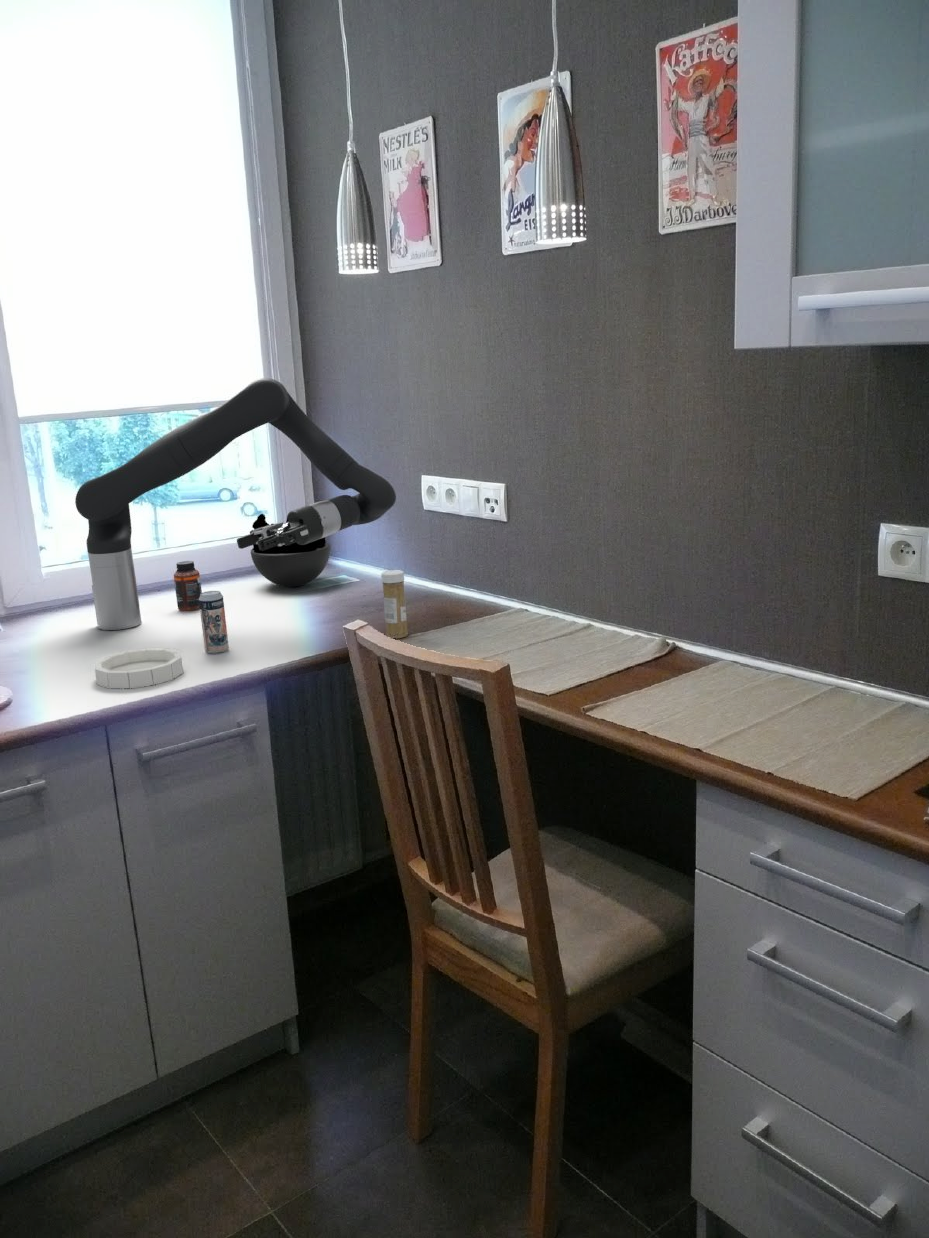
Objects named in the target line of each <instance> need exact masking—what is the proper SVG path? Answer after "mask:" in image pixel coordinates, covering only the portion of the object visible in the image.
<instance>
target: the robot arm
mask: <svg viewBox="0 0 929 1238" xmlns="http://www.w3.org/2000/svg"><path fill="white" fill-rule="evenodd" d="M266 424H270V425H271V426H273V427H274V428H276V429H277V430H278V431H280V432H282V433H283V434H284V436H286V437H288V439H290V440H291V441H292V442H293V444H295V445H296V447H298V448H299V449H300V451H301V452H302V453H303V454H304V455H305V457H306V458H307V459H308V460H309V461H310V463H311V464H312V465H313V466H314V467H315V468H316V470H318V471H319V472H320V473H321V474H322V475H324V477H325V478H326V479H327V480H328V481H330V482H331V483H332V484H333V485H334V486H335V487H336V488H338V489H339V490H341V491H347V490H350V489H352V490H354V491H356V492H357V494H355V495H353V496H352V495H349V494H348V495H347V494H343V495H339V496H338V495H337V496H335V497H332V498H328V499H325V500H322V501H321V500H320V501H317V502H314V503H310V504H308V505H305V506H301V507H300V508H296V509H293V510H291V511H290V510H289V512H288V514H287V516H286V520H285V522H283V521H280V522H276V523H271V524H269V525H267V526H264V527H261V528H258V529H255V530H254V529H251V530H250V531H249V534H246V535H244V536H240V537H238V538H237V539H236V543H237V546H238V549H241V550H242V549H243V550H244V549H245V548H247V547H248V548H249V547H250V546H252V547H253V545H254V544H258V546H259V550H261V551H264V550H267V549H269V548H272V547H275V546H277V545H278V546H282V545H285V546H286V545H287V546H288V545H290V544H293V543H295V542H296V543H297V544H300V545H305V544H308V543H310V542H313V541H316V540H318V539H321V538H324V537H325V538H326V537H329V536H331V535H333V534H335V533H337V532H340V531H342V530H345V529H348V528H349V527H352V526H361V525H365V524H369V523H372V522H374V521H377V520H379V519H380V518H382V516H384V515H385V514H386V513H387V512H388V511H389V510H390V509H391V508H392V507H393V506H394V505H395V503H396V500H397V495H396V492H395V489H394V486H393V485H392V484H390V482H389V481H388V480H386V479H385V478H384V477H382V476H381V475H379V474H378V473H375V472H374V471H372V470H370V469H369V468H367V467H365V466H363V465H361V464H360V463H358V461H357V460H355V459H354V458H353V457H352V456H351V455H350V454H349V453H348V452H347V451H346V450H345V449H343V447H341V446H340V445H339V444H338V443H337V442H336V441H334V440H333V438H331V437H330V436H329V435H328V434H327V433H326V432H324V431H323V430H322V429H321V428H319V427H320V426H318V425H317V424H315V422H314V421H312V419H311V418H310V417H309V416H308V415H307V414H306V413H305V412H304V411H303V410H302V409H301V407H300V406H299V405H298V404H297V403H296V401H295V399H294V398H293V397H292V396H291V394H290V393H289V392H288V390H287V389H286V386H284V384H282V383H281V382H280V381H278V380H276V379H274V378H270V377H269V378H267V377H266V378H265V377H264V378H257V379H255V380H253V381H252V382H250V383H249V384H248V385H246V386H245V387H244V388H242V390H241V391H239V392H238V393H236V394H235V395H234V396H233V397H231V398H230V399H228V400H227V401H226V402H224V403H223V404H221V405H220V406H218V407H216V408H215V409H213V410H211V411H208V412H206V413H204V414H201V415H199V416H197V417H195V418H193V419H191V420H189V421H187V422H185V423H184V424H183V423H182V424H181V425H179V426H178V427H175V428H174V429H173V430H171V431H169V432H167V433H166V434H164V435H163V436H161V437H160V438H159V439H157V440H156V441H153V442H152V443H151V444H149V445H148V446H146V447H145V448H144V449H143V450H141V451H140V452H139V453H137V454H136V455H135V456H134V457H132V458H131V459H129V460H127V462H125V463H124V464H122V465H121V466H118V467H117V468H115V469H113V470H110V471H109V472H107V473H104V474H103V475H100V476H97V477H95V478H92V479H89V480H87V481H85V482H84V483H83V484H81V486H80V487H79V488H78V490H77V492H76V494H75V495H76V496H75V499H74V500H75V502H74V504H75V508H76V510H77V512H78V514H79V515H81V517H83V518H84V519H86V520H87V523H88V536H87V538H86V549H87V556H88V562H89V568H90V569H89V570H90V576H91V583H92V585H91V590H92V596H93V597H92V598H93V601H94V602H93V603H94V611H95V618H96V624H97V626H98V629H100V630H104V631H119V630H125V629H130V628H134V627H137V626H139V625H141V624H142V617H141V607H140V599H139V592H138V585H137V579H136V571H135V564H134V558H133V550H132V549H133V548H132V541H131V540H132V531H133V530H132V521H131V520H132V519H131V512H130V511H131V510H130V503H132V502H133V501H135V500H136V499H137V498H139V497H141V496H142V495H144V494H145V493H148V492H150V491H152V490H155V489H157V488H159V487H162V486H164V485H166V484H168V483H171V482H173V481H175V480H177V479H179V478H181V477H184V476H185V475H187V474H189V473H190V472H192V471H194V470H195V469H197V468H199V467H200V466H202V465H204V464H205V463H206V462H207V461H209V460H211V459H212V458H214V457H215V456H216V455H217V454H219V453H220V452H221V451H222V450H223V449H225V448H226V447H227V446H228V445H229V444H230V443H231V442H233V441H234V440H236V439H237V438H239V437H241V436H242V435H245V434H247V433H248V432H251V431H253V430H255V429H257V428H259V427H262V426H264V425H266ZM258 534H261V537H260V538H259V537H258Z"/></svg>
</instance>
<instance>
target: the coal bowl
mask: <svg viewBox="0 0 929 1238" xmlns="http://www.w3.org/2000/svg"><path fill="white" fill-rule="evenodd" d="M267 525H270V524H269V523H268V522H267V521H266V516H265V514H264V513H261V514H259V515H258V516H257V517H256V520H254V521H253V522H252V526H251V527H252V528H253V530H255V529H258V528H261V527H264V526H267ZM258 537H259V538H260V537H261V534H258ZM330 554H331V543H329V542H328V541H327V540H326V537H324V538H321V539H318V540H316V541H313V542H310V543H308V544H305V545H300V544H297V543H296V542H295V543H293V544H290V545H288V546H287V545H286V546H285V545H282V546H278V545H277V546H275V547H272V548H269V549H267V550H264V551H261V550H259V546H258V544H254V545H252V548H251V550H250V556H251V560H252V562H253V564H254V566H255V569H256V570H257V571H258V572H259V573H260V575H261V576H263V577H264V578H265V579H266V580H268V581H269V582H271V583H273V584H276V585H278V586H282V587H287V588H295V587H300V586H304V585H306V584H307V585H308V584H309V583H310V582H312V581H314V580H315V579H316V578H318V577H319V576H320V575H321V574H322V572H323V571H324V569H325V568H326V567H327V564H328V563H329V562H328V561H329V560H330Z"/></svg>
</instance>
